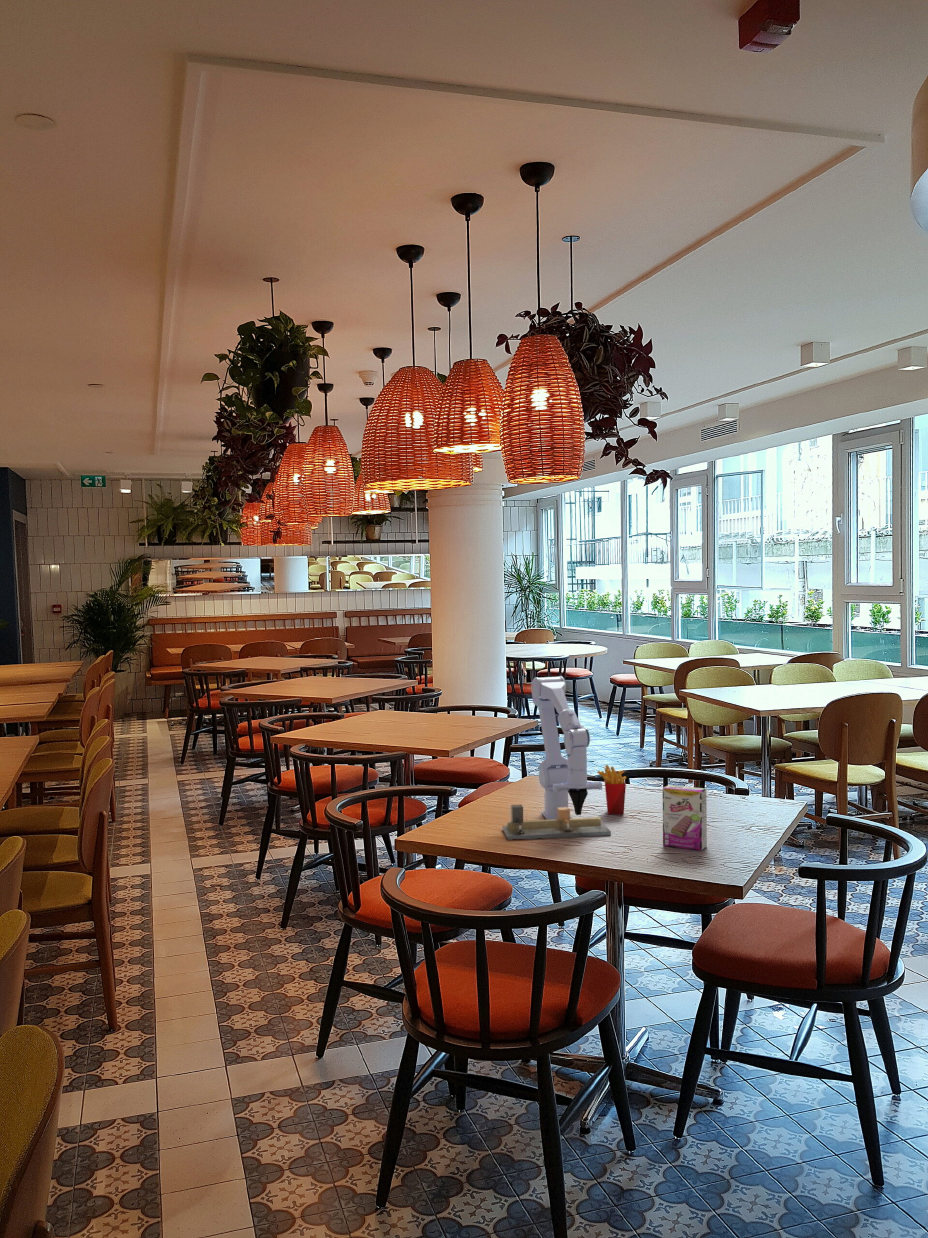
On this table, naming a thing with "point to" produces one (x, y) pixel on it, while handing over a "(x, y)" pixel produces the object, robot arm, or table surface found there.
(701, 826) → the candy bar box
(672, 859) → the table surface
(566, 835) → the bolt plate
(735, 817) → the table surface
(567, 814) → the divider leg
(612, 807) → the french fries
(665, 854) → the table surface
